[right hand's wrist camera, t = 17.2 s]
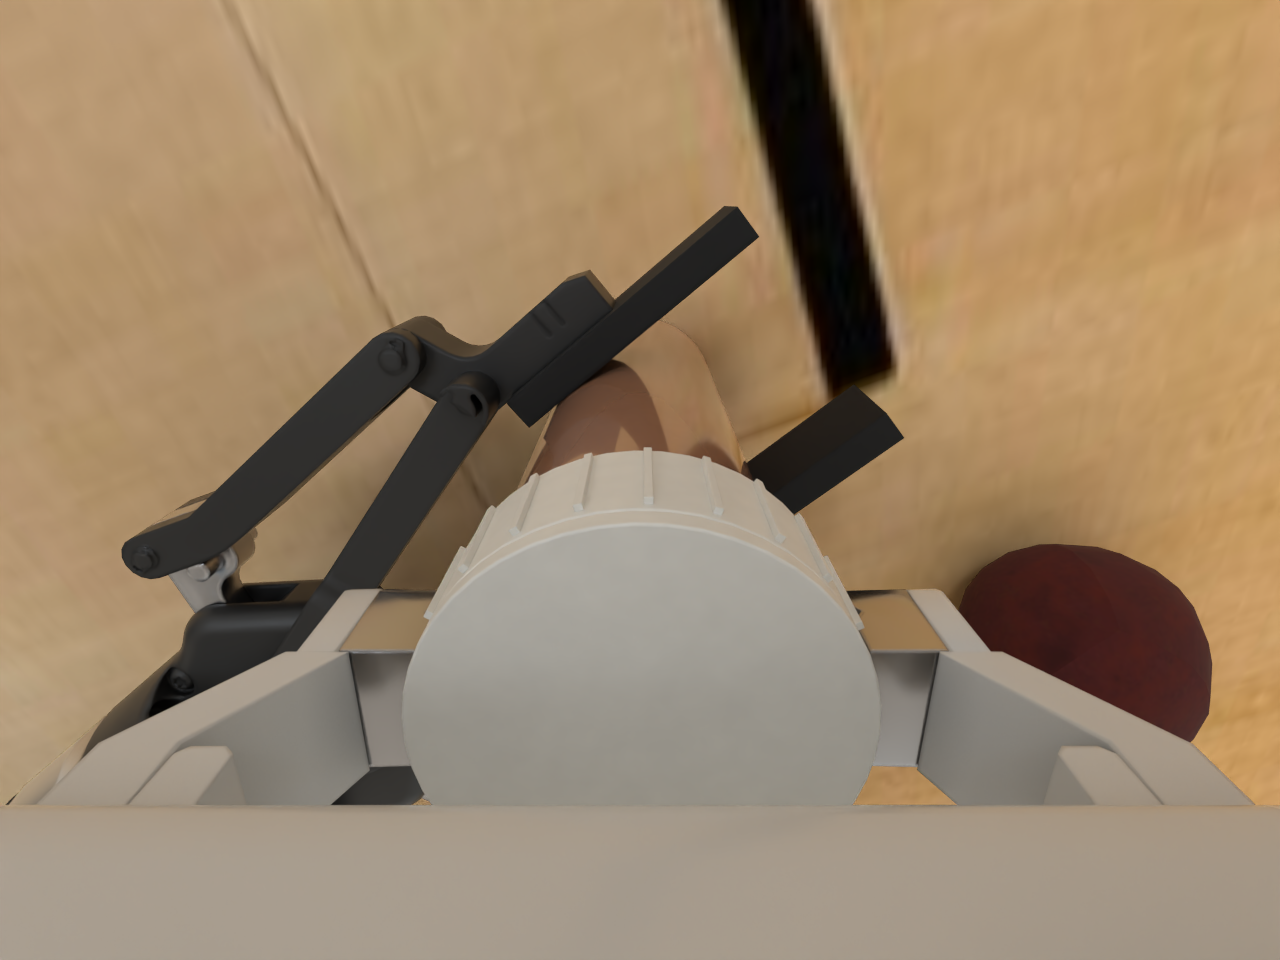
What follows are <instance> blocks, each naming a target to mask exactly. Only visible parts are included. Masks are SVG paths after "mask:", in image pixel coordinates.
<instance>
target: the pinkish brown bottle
mask: <svg viewBox="0 0 1280 960" xmlns="http://www.w3.org/2000/svg"><path fill="white" fill-rule="evenodd" d="M644 447H651V448H652V451H663V452H670V453H676V454H683V455H689V456H693V457H696V458H700V459H702V457H703V456H706V457H710V458H711V461H712V462H714V463H717V464H719V465H721V466H724V467H726V468H728V469H731V470H733V471H735V472H738V473H740V474H742V475H743V476H745V477H747V478H748V479H750V480H752V481H753V482H754V480H753V478H752V475H751V473H750V470H749V468H748V465H747V463H746V460H745V458H744V455H743V453H742V450H741V448H740V445H739V443H738V440H737V438H736V435H735V433H734V430H733V428H732V425H731V423H730V420H729V418H728V415H727V413H726V410H725V408H724V405H723V403H722V400H721V398H720V395H719V393H718V390H717V388H716V385H715V383H714V380H713V378H712V375H711V373H710V370H709V368H708V365H707V363H706V361H705V359H704V357H703V354H702V353H701V351H700V350H699V348H698V347H697V345H696V344H695V343H694V342H693V341H692V340H691V339H690V338H689V337H688V336H687V335H686V334H685V333H684V332H682V331H681V330H679V329H678V328H676V327H674V326H672V325H670V324H668V323H666V322H663V321H660V320H658V321H657V322H656V323H655V324H654V325H652V326H651V327H650V328H649V329H648V330H646V331H645V332H644V333H643V334H642V335H640V336H639V337H638V338H637V339H635V340H634V341H633V342H632V343H631V344H629V345H628V346H627V347H626V348H625V349H623V350H622V351H621V352H620V353H619V354H617V355H616V356H615V357H614V358H613V359H611V360H610V361H609V362H608V363H607V364H605V365H604V366H603V367H602V368H601V369H599V370H598V371H597V372H596V373H595V374H593V375H592V376H591V377H590V378H588V379H587V380H586V381H585V382H584V383H582V384H581V385H580V386H579V387H578V388H576V389H575V390H574V391H573V392H572V393H570V394H569V395H568V396H567V397H566V398H564V399H563V400H562V401H561V402H560V403H558V404H557V405H556V406H555V407H554V408H552V410H551V412H550V414H549V417H548V419H547V421H546V423H545V426H544V428H543V430H542V433H541V435H540V437H539V439H538V442H537V444H536V446H535V449H534V451H533V453H532V455H531V458H530V460H529V462H528V464H527V467H526V469H525V471H524V474H523V476H522V478H521V480H520V483H519V485H518V487H517V490H518V489H519V488H521V487H522V486H523V485H525V484H526V483H528V481H529V478H530V476H531V475H533V474H535V473H538V475H539V476H540V475H542V474H544V473H546V472H548V471H550V470H552V469H554V468H556V467H559V466H562V465H565V464H568V463H570V462H573V461H576V460H579V459H582V458H584V454H588V453H592V455H593V456H596V455H600V454H605V453H613V452H624V451H644Z"/></svg>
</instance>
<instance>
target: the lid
mask: <svg viewBox="0 0 1280 960" xmlns="http://www.w3.org/2000/svg"><path fill="white" fill-rule="evenodd" d="M424 618H426V619H429V622H428V624H427V626H426V628H425V630H424V632H423V634H422V635H421V637H420V639H419V641H418V644H417V646H416V649H415V651H414V654H413V656H412V659H411V661H410V664H409V666H408V670H407V675H406V680H405V685H404V689H403V699H402V724H403V732H404V740H405V746H406V750H407V753H408V757H409V760H410V763H411V767H412V770H413V772H414V774H415V776H416V778H417V780H418V782H419V785H420V787H421V789H422V791H423V792H424V794H425V796H426V797H427V799H428V800H429V802H430V803H431V805H853V803H854V802H855V800H856V798H857V797H858V795H859V793H860V791H861V789H862V788H863V786H864V784H865V782H866V780H867V778H868V775H869V773H870V770H871V767H872V765H873V762H874V759H875V756H876V751H877V747H878V742H879V737H880V731H881V706H882V705H881V698H880V690H879V682H878V678H877V675H876V671H875V668H874V665H873V661H872V658H871V655H870V653H869V651H868V649H867V647H866V645H865V643H864V641H863V639H862V637H861V635H860V633H859V631H858V630H861V629H864V625H863V623H862V621H861V619H860V617H859V615H858V613H857V611H856V609H855V607H854V605H853V603H852V601H851V600H850V598H849V596H848V594H847V592H846V590H845V588H844V586H843V584H842V582H841V580H840V579H839V577H838V575H837V573H836V571H835V569H834V567H833V565H832V563H831V561H830V559H829V557H828V556H827V555H826V556H824V557H823V555H822V553H821V551H820V549H819V547H818V546H817V544H816V542H815V540H814V538H813V536H812V534H811V532H810V530H809V528H808V526H807V524H806V522H805V520H804V518H803V517H802V516H801V514H800V513H798V514H797V515H795V516H794V515H793V513H792V512H791V511H790V510H789V509H788V508H787V507H786V506H785V505H784V504H783V503H782V502H781V501H780V500H778V499H777V498H776V497H775V496H773V495H772V494H771V493H770V492H768V491H767V490H766V489H765V486H764V484H763V482H762V481H760V480H759V479H756V480H755V481H754V482H753V481H752V480H750V479H748V478H747V477H745V476H743V475H742V474H740V473H738V472H735V471H733V470H731V469H728V468H726V467H724V466H721V465H719V464H717V463H714V462H712V461H711V458H710V457H706V456H703V457H702V459H700V458H696V457H693V456H689V455H683V454H676V453H670V452H663V451H652V448H651V447H644V451H624V452H613V453H605V454H600V455H596V456H593V455H592V453H588V454H584V458H582V459H579V460H576V461H573V462H570V463H568V464H565V465H562V466H559V467H556V468H554V469H552V470H550V471H548V472H546V473H544V474H542V475H540V476H539V475H538V473H535V474H533V475H531V476H530V478H529V481H528V483H526V484H525V485H523V486H522V487H521V488H519V489H518V490H516V491H515V492H513V493H512V494H511V495H509V496H508V497H507V498H506V499H505V500H504V501H503V502H502V503H501V504H500V505H498V506H497V507H496V508H495V507H494V506H493V505H491V506H490V507H489V508H488V509H487V511H486V513H485V515H484V517H483V519H482V521H481V523H480V525H479V527H478V529H477V531H476V532H475V534H474V536H473V537H472V539H471V541H470V543H469V544H468V546H467V548H464V547H462V546H460V548H459V550H458V552H457V554H456V555H455V557H454V559H453V561H452V563H451V565H450V567H449V569H448V571H447V573H446V574H445V576H444V578H443V580H442V582H441V584H440V586H439V588H438V590H437V591H436V593H435V595H434V597H433V599H432V601H431V603H430V605H429V607H428V608H427V610H426V612H425V614H424Z"/></svg>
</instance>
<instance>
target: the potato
mask: <svg viewBox="0 0 1280 960" xmlns="http://www.w3.org/2000/svg"><path fill="white" fill-rule="evenodd" d="M959 613H960V614H961V615H962V616H963V618H964V619H965V620H966V621H967V622H968V624H969V625H970V626H971V627H972V629H973V630H974V631H975V632H976V634H977V635H978V636H979V637H980V639H981V640H982V641H983V642H984V644H985V645H986V646H987V647H988V649H989V650H990V651H991V652H1004V653H1006V654H1008V655H1010V656H1012V657H1014V658H1016V659H1018V660H1020V661H1022V662H1025V663H1027V664H1029V665H1031V666H1033V667H1035V668H1037V669H1039V670H1041V671H1043V672H1045V673H1047V674H1049V675H1051V676H1053V677H1056V678H1058V679H1060V680H1062V681H1064V682H1066V683H1068V684H1070V685H1072V686H1074V687H1076V688H1078V689H1080V690H1082V691H1084V692H1086V693H1089V694H1091V695H1093V696H1095V697H1097V698H1099V699H1101V700H1103V701H1105V702H1107V703H1109V704H1111V705H1113V706H1115V707H1117V708H1119V709H1122V710H1124V711H1126V712H1128V713H1130V714H1132V715H1134V716H1136V717H1138V718H1140V719H1142V720H1144V721H1146V722H1148V723H1150V724H1153V725H1155V726H1157V727H1159V728H1161V729H1163V730H1165V731H1167V732H1169V733H1171V734H1173V735H1175V736H1177V737H1179V738H1181V739H1183V740H1186V741H1188V742H1191V741H1192V740H1193V739H1194V738H1195V736H1196V734H1197V733H1198V731H1199V729H1200V728H1201V726H1202V724H1203V723H1204V721H1205V719H1206V718H1207V716H1208V714H1209V706H1210V694H1211V676H1212V660H1211V654H1210V649H1209V643H1208V641H1207V638H1206V636H1205V633H1204V631H1203V629H1202V626H1201V624H1200V621H1199V619H1198V616H1197V614H1196V611H1195V609H1194V607H1193V606H1192V604H1191V603H1190V602H1189V601H1188V599H1187V598H1186V597H1185V595H1184V594H1183V593H1182V592H1181V590H1180V589H1179V588H1178V587H1177V586H1175V585H1174V584H1173V583H1172V582H1170V581H1169V580H1168V579H1166V578H1165V577H1164V576H1163V575H1161V574H1160V573H1159V572H1158V571H1156V570H1154V569H1152V568H1150V567H1148V566H1146V565H1144V564H1142V563H1139V562H1137V561H1135V560H1133V559H1131V558H1129V557H1127V556H1124V555H1122V554H1120V553H1116V552H1113V551H1109V550H1106V549H1103V548H1099V547H1091V546H1076V545H1061V544H1044V545H1036V546H1032V547H1028V548H1024V549H1020V550H1016V551H1012V552H1008V553H1007V554H1005V555H1003V556H1002V557H1000V558H998V559H997V560H995V561H993V562H992V563H990V564H989V565H987V566H985V567H984V568H982V570H981V571H980V572H979V573H978V575H977V576H976V577H975V578H974V580H973V581H972V582H971V583H970V584H969V586H968V587H967V588H966V590H965V593H964V596H963V599H962V602H961V605H960V608H959Z"/></svg>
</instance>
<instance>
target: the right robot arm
mask: <svg viewBox="0 0 1280 960" xmlns="http://www.w3.org/2000/svg"><path fill="white" fill-rule="evenodd" d="M436 591H437V590H395V589H385V590H383V589H351V590H346V591H344V592H343V593H342V595H341V596H340V597H339V598H338V600H337V601H336V602H335V604H334V605H333V606H332V607H331V609H330V610H329V611H328V612H327V614H326V615H325V616H324V618H323V619H322V620H321V621H320V623H319V624H318V625H317V626H316V628H315V629H314V630H313V632H312V633H311V634H310V635H309V637H308V638H307V639H306V640H305V642H304V643H303V644H302V645H301V647H300V648H299V649H298V651H297V652H284V653H282V654H280V655H278V656H276V657H274V658H272V659H270V660H267V661H265V662H263V663H261V664H259V665H257V666H255V667H253V668H251V669H249V670H247V671H245V672H243V673H241V674H239V675H237V676H235V677H233V678H231V679H229V680H226V681H224V682H222V683H220V684H218V685H216V686H214V687H212V688H210V689H208V690H206V691H204V692H202V693H200V694H198V695H196V696H194V697H192V698H190V699H188V700H185V701H183V702H181V703H179V704H177V705H175V706H173V707H171V708H169V709H167V710H165V711H163V712H161V713H159V714H157V715H155V716H153V717H151V718H149V719H147V720H144V721H142V722H140V723H138V724H136V725H134V726H132V727H130V728H128V729H126V730H124V731H122V732H120V733H118V734H116V735H114V736H112V737H110V738H108V739H106V740H103V741H101V742H99V743H98V744H97V745H96V746H95V747H94V748H93V749H92V750H91V751H90V752H89V753H88V754H87V755H86V756H85V757H84V758H83V759H82V760H81V761H80V762H79V763H77V764H76V765H75V766H74V767H73V768H72V769H71V770H70V771H69V772H68V773H67V774H66V775H65V776H64V777H63V778H62V779H61V780H60V781H59V782H58V783H57V784H56V785H55V786H54V787H53V788H52V789H51V790H50V791H49V792H48V793H47V794H46V795H45V796H44V797H43V798H42V799H41V800H40V801H39V802H38V803H37V804H36V805H0V960H1280V805H1255V804H1254V803H1253V802H1252V801H1251V800H1250V799H1249V798H1248V797H1247V796H1246V795H1245V794H1244V793H1243V792H1242V791H1241V790H1240V789H1239V788H1238V787H1237V786H1236V785H1235V784H1234V783H1233V782H1231V781H1230V780H1229V779H1228V778H1227V777H1226V776H1225V775H1224V774H1223V773H1222V772H1221V771H1220V770H1219V769H1218V768H1217V767H1216V766H1215V765H1214V764H1213V763H1212V762H1211V761H1210V760H1209V759H1208V758H1207V757H1206V756H1205V755H1204V754H1203V753H1202V752H1200V751H1199V750H1198V749H1197V748H1196V747H1195V746H1194V745H1193V744H1192V743H1190V742H1188V741H1186V740H1183V739H1181V738H1179V737H1177V736H1175V735H1173V734H1171V733H1169V732H1167V731H1165V730H1163V729H1161V728H1159V727H1157V726H1155V725H1153V724H1150V723H1148V722H1146V721H1144V720H1142V719H1140V718H1138V717H1136V716H1134V715H1132V714H1130V713H1128V712H1126V711H1124V710H1122V709H1119V708H1117V707H1115V706H1113V705H1111V704H1109V703H1107V702H1105V701H1103V700H1101V699H1099V698H1097V697H1095V696H1093V695H1091V694H1089V693H1086V692H1084V691H1082V690H1080V689H1078V688H1076V687H1074V686H1072V685H1070V684H1068V683H1066V682H1064V681H1062V680H1060V679H1058V678H1056V677H1053V676H1051V675H1049V674H1047V673H1045V672H1043V671H1041V670H1039V669H1037V668H1035V667H1033V666H1031V665H1029V664H1027V663H1025V662H1022V661H1020V660H1018V659H1016V658H1014V657H1012V656H1010V655H1008V654H1006V653H1004V652H991V651H990V650H989V649H988V647H987V646H986V645H985V644H984V642H983V641H982V640H981V639H980V637H979V636H978V635H977V634H976V632H975V631H974V630H973V629H972V627H971V626H970V625H969V624H968V622H967V621H966V620H965V619H964V618H963V616H962V615H961V614H960V613H959V611H958V610H957V609H956V608H955V606H954V605H953V604H952V603H951V601H950V600H949V599H948V598H947V596H946V595H945V594H944V593H943V592H942V591H940V590H938V589H911V590H864V591H846V592H847V594H848V596H849V598H850V600H851V601H852V603H853V605H854V607H855V609H856V611H857V613H858V615H859V617H860V619H861V621H862V623H863V625H864V629H861V630H858V631H859V633H860V635H861V637H862V639H863V641H864V643H865V645H866V647H867V649H868V651H869V653H870V655H871V658H872V661H873V665H874V668H875V671H876V675H877V678H878V682H879V690H880V698H881V705H882V706H881V731H880V737H879V742H878V747H877V751H876V756H875V759H874V762H873V765H872V766H898V767H918V768H917V770H918V771H919V772H920V773H921V774H923V775H924V776H925V777H926V778H927V779H928V780H929V781H931V782H932V783H933V784H934V785H935V786H936V787H937V788H939V789H940V790H941V791H942V792H943V793H944V794H946V795H947V796H948V797H949V798H950V799H951V800H952V801H954V802H955V803H956V804H957V805H331V804H332V803H333V802H334V801H335V800H337V799H338V798H339V797H340V796H341V795H342V794H343V793H345V792H346V791H347V790H348V789H349V788H350V787H351V786H353V785H354V784H355V783H356V782H357V781H358V780H359V779H360V778H362V777H363V776H364V775H365V774H366V773H367V772H368V771H370V769H369V767H389V766H411V763H410V760H409V757H408V753H407V750H406V746H405V740H404V732H403V724H402V699H403V689H404V685H405V680H406V675H407V670H408V666H409V664H410V661H411V659H412V656H413V654H414V651H415V649H416V646H417V644H418V641H419V639H420V637H421V635H422V634H423V632H424V630H425V628H426V626H427V624H428V622H429V619H426V618H424V614H425V612H426V610H427V608H428V607H429V605H430V603H431V601H432V599H433V597H434V595H435V593H436Z"/></svg>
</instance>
